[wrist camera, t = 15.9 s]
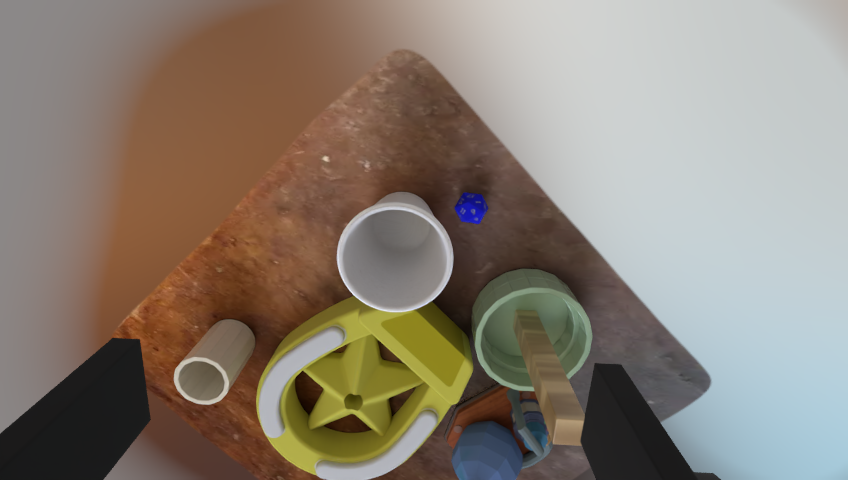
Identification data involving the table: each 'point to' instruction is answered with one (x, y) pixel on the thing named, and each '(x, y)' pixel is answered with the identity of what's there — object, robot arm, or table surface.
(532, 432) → the model
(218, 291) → the table surface
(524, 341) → the stick
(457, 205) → the die
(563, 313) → the bowl
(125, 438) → the robot arm
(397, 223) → the dixie cup
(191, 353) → the holder
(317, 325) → the toy steering wheel
